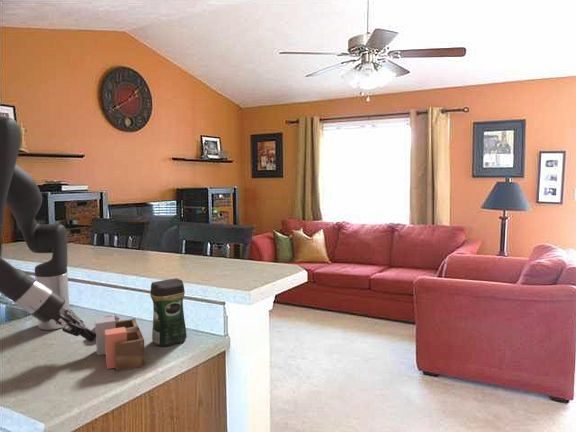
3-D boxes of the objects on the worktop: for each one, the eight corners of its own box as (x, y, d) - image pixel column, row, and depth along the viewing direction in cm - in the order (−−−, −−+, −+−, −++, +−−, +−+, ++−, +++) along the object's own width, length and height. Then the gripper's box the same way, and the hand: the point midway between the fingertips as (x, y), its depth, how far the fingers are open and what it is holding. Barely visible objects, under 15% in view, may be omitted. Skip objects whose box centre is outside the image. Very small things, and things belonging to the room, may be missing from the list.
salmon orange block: (106, 362, 115) (104, 329, 114) (126, 359, 118) (124, 326, 117) (107, 369, 112) (105, 335, 111) (127, 365, 114) (126, 331, 113)
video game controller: (97, 345, 131) (106, 326, 130) (84, 338, 131) (93, 318, 130) (116, 333, 141) (124, 315, 139) (104, 326, 141) (112, 308, 140)
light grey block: (96, 350, 123) (94, 319, 123) (115, 346, 126) (114, 316, 125) (97, 355, 120) (95, 323, 119) (116, 352, 122) (115, 320, 121)
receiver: (110, 345, 127) (109, 322, 126) (135, 341, 130) (134, 318, 129) (116, 371, 111) (115, 344, 110) (145, 365, 114) (144, 339, 113)
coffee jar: (179, 333, 137) (177, 274, 135) (190, 341, 130) (188, 280, 128) (148, 340, 131) (146, 279, 129) (158, 349, 124) (156, 285, 122)
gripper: (50, 296, 109) (105, 335, 116) (52, 284, 121) (102, 320, 128) (27, 320, 108) (84, 358, 114) (31, 305, 119) (83, 341, 126)
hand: (93, 338), depth 121 cm, fingers closed
